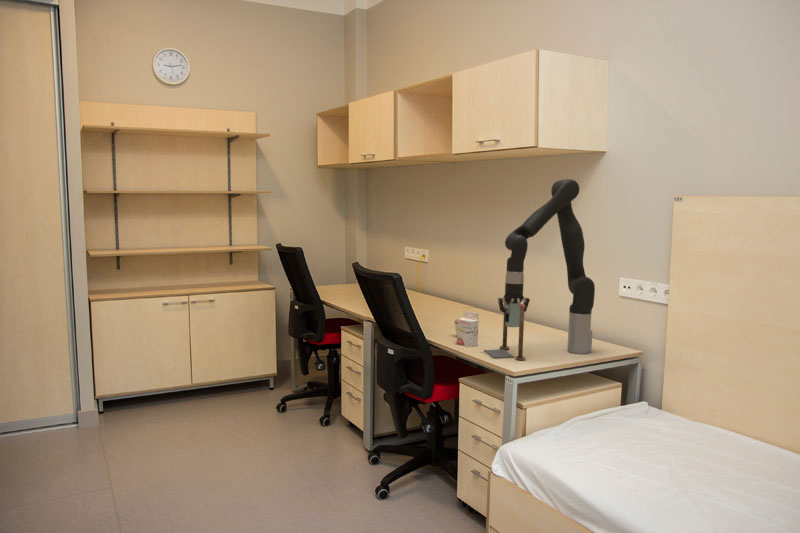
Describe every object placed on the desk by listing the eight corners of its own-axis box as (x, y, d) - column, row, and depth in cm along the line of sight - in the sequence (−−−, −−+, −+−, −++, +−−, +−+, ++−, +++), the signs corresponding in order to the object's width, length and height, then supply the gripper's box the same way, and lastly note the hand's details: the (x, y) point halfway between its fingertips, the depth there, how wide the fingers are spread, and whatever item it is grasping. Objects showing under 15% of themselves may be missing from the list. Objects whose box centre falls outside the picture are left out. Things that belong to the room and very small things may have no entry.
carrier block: (515, 325, 257) (516, 301, 256) (519, 327, 253) (520, 303, 252) (505, 325, 256) (506, 301, 255) (509, 327, 252) (510, 303, 251)
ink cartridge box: (456, 344, 273) (457, 312, 271) (462, 342, 277) (463, 310, 275) (471, 347, 267) (472, 314, 266) (478, 345, 271) (479, 313, 269)
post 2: (522, 358, 249) (525, 303, 247) (526, 360, 246) (528, 304, 243) (513, 358, 249) (515, 303, 246) (517, 361, 245) (519, 304, 242)
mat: (503, 350, 262) (503, 349, 261) (513, 357, 250) (514, 356, 250) (483, 351, 260) (483, 350, 260) (493, 358, 248) (493, 357, 248)
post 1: (507, 347, 267) (509, 296, 265) (510, 350, 263) (512, 297, 261) (498, 348, 266) (500, 296, 264) (501, 350, 262) (503, 297, 260)
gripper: (526, 280, 258) (525, 320, 259) (495, 280, 255) (493, 320, 257) (534, 283, 250) (532, 323, 252) (501, 283, 248) (499, 324, 249)
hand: (512, 321), depth 254 cm, fingers closed on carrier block, 4 cm apart
